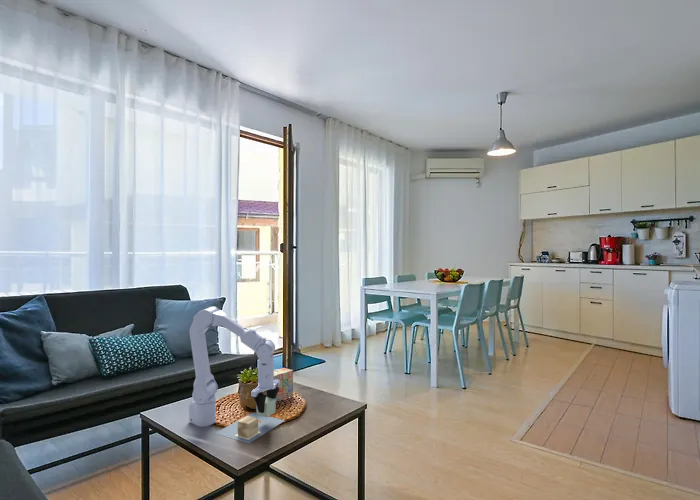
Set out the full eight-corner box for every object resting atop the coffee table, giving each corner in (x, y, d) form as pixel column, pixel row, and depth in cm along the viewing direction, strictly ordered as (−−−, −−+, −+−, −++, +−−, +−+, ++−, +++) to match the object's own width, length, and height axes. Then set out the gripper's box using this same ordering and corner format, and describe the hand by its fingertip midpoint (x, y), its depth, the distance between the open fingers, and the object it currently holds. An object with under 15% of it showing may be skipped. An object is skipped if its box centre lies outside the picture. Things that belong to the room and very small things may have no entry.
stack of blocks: (254, 412, 162) (254, 382, 162) (245, 408, 166) (244, 379, 166) (293, 397, 179) (293, 369, 178) (283, 393, 182) (283, 367, 182)
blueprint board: (214, 435, 142) (214, 432, 142) (252, 414, 160) (252, 412, 160) (249, 445, 135) (249, 443, 135) (285, 422, 152) (285, 420, 152)
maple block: (237, 435, 140) (237, 421, 140) (247, 429, 145) (247, 415, 145) (248, 438, 138) (248, 424, 138) (258, 432, 142) (258, 418, 142)
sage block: (256, 414, 149) (256, 401, 149) (265, 409, 154) (265, 396, 153) (266, 417, 147) (266, 403, 147) (275, 412, 151) (275, 399, 151)
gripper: (261, 381, 142) (261, 419, 142) (286, 369, 155) (286, 404, 155) (246, 377, 145) (246, 415, 145) (271, 367, 158) (271, 401, 158)
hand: (266, 409), depth 150 cm, fingers closed on sage block, 5 cm apart
